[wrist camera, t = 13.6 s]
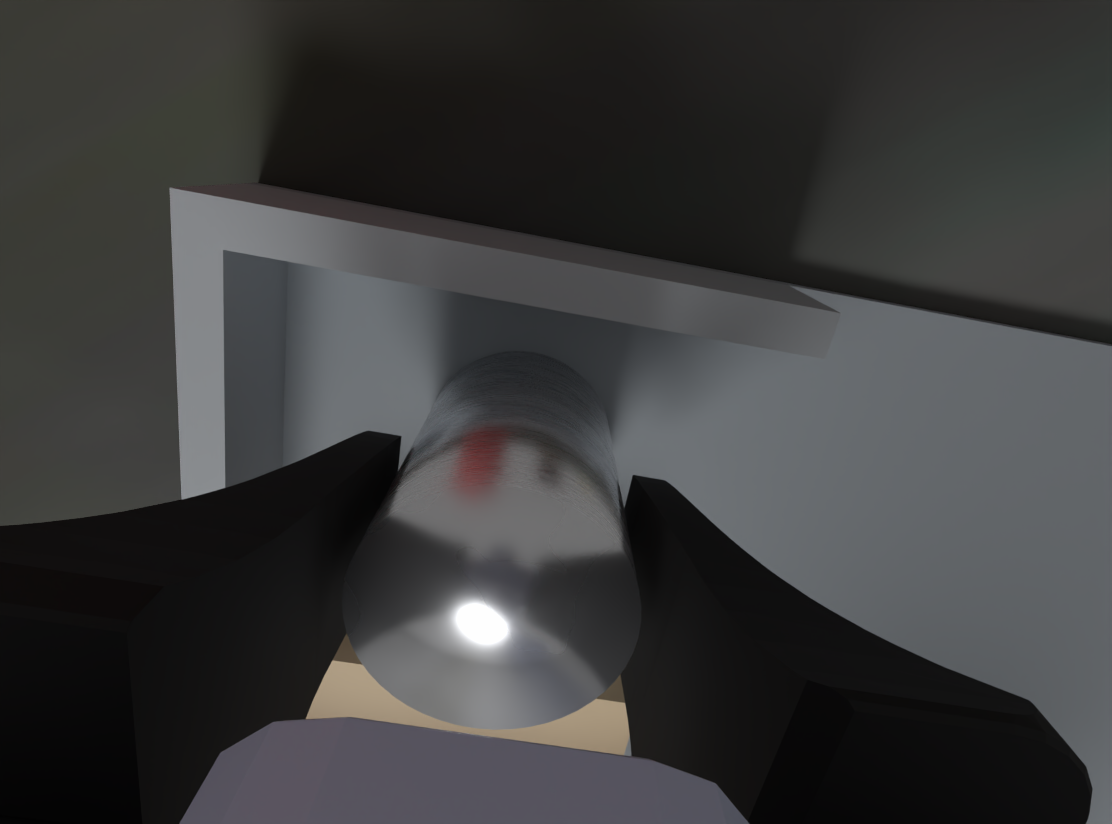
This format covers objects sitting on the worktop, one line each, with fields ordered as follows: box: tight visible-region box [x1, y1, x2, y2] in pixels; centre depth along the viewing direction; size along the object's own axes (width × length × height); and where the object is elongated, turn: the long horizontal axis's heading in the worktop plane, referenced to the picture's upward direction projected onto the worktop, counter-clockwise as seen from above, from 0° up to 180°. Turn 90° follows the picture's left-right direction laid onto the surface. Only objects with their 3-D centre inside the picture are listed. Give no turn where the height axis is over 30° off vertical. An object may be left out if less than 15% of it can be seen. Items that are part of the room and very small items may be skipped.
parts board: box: [170, 183, 1112, 824], centre depth 15 cm, size 18×25×3 cm
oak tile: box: [306, 634, 630, 755], centre depth 15 cm, size 7×7×3 cm
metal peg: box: [342, 351, 641, 730], centre depth 11 cm, size 4×4×6 cm
